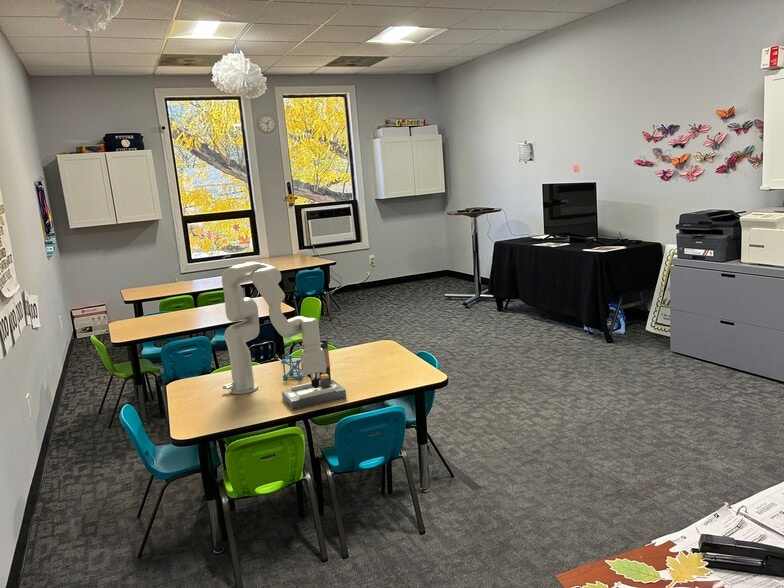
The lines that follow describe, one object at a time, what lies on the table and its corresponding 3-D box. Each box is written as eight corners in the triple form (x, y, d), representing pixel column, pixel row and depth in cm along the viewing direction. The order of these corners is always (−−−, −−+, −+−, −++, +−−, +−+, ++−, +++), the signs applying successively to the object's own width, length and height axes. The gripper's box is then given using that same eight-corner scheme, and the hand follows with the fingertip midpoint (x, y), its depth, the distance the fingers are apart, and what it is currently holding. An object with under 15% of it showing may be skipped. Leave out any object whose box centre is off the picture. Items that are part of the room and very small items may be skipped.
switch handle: (322, 388, 257) (321, 376, 256) (320, 386, 260) (319, 375, 259) (329, 387, 259) (328, 375, 258) (327, 385, 261) (326, 373, 260)
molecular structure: (282, 380, 287) (279, 360, 286) (290, 373, 297) (288, 354, 295) (301, 380, 285) (299, 360, 283) (308, 373, 294) (306, 354, 293)
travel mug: (334, 381, 280) (330, 340, 276) (328, 386, 273) (323, 344, 269) (319, 380, 282) (314, 340, 278) (312, 386, 275) (308, 344, 271)
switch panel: (292, 410, 246) (291, 398, 245) (282, 399, 260) (281, 387, 259) (346, 398, 256) (345, 386, 255) (333, 388, 270) (332, 376, 269)
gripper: (297, 351, 248) (301, 393, 251) (331, 345, 254) (334, 386, 257) (292, 347, 254) (296, 388, 258) (325, 341, 260) (329, 381, 264)
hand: (315, 387), depth 257 cm, fingers closed
